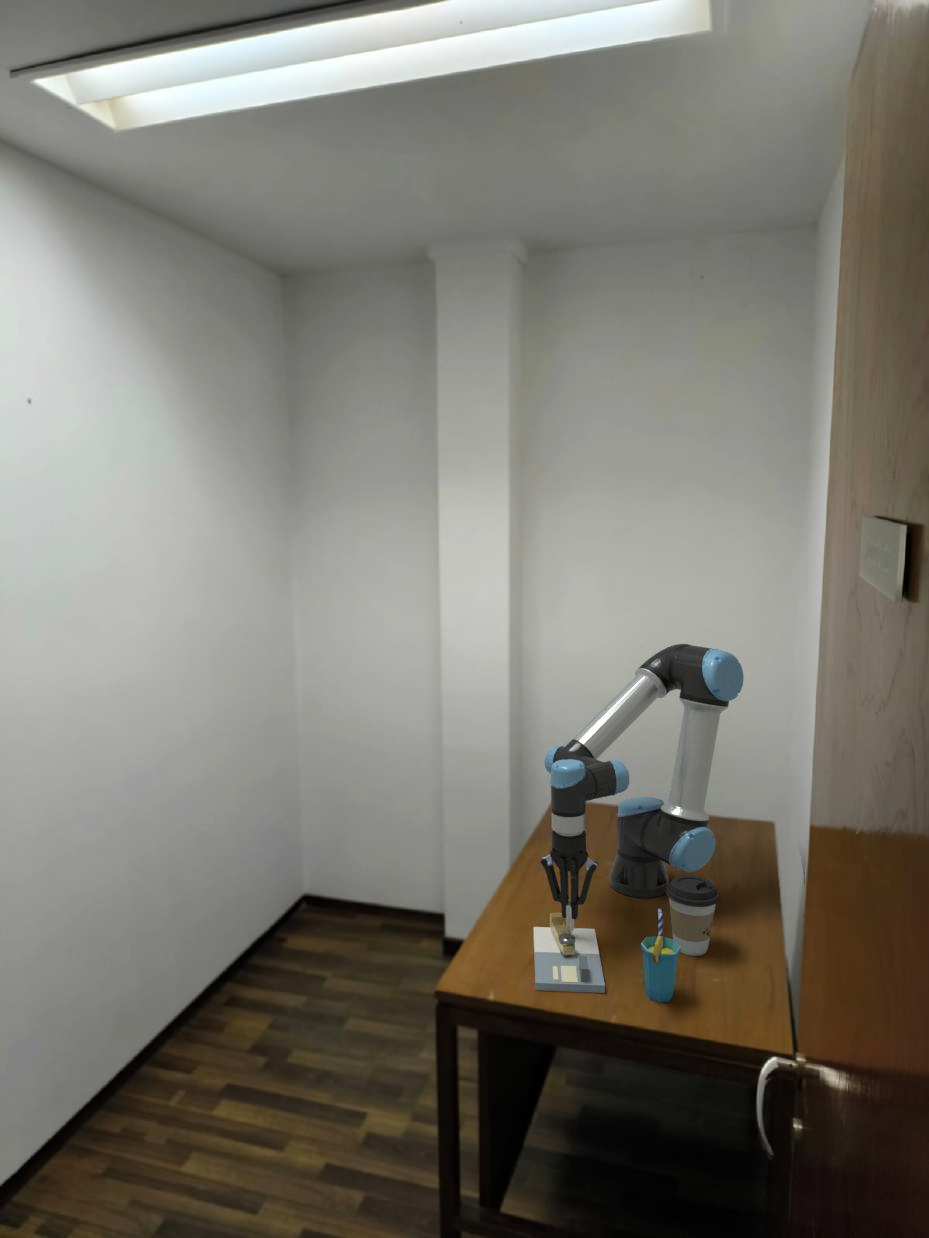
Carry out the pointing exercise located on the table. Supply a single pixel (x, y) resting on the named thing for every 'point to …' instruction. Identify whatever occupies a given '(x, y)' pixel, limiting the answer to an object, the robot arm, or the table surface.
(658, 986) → the cup
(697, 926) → the coffee cup
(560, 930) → the latch bar
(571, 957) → the door fixture
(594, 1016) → the table surface
